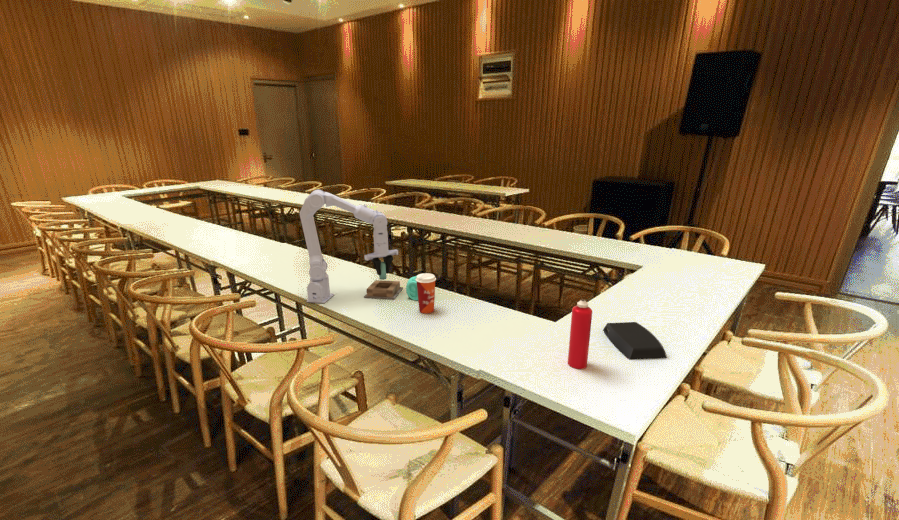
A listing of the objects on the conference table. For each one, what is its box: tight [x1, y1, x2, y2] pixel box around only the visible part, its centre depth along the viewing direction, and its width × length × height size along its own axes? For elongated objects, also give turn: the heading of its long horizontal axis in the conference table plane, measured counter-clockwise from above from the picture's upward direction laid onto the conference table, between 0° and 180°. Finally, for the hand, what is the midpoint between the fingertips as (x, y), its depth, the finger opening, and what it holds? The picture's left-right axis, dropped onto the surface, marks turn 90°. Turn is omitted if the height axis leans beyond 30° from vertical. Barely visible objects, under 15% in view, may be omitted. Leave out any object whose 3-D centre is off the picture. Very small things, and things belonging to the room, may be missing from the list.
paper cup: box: [416, 272, 437, 314], centre depth 158 cm, size 8×8×14 cm
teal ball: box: [405, 275, 418, 302], centre depth 172 cm, size 8×8×8 cm
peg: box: [378, 261, 388, 281], centre depth 175 cm, size 3×3×7 cm
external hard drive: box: [602, 321, 668, 361], centre depth 133 cm, size 13×19×4 cm
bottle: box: [567, 299, 593, 370], centre depth 119 cm, size 5×5×20 cm
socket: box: [363, 279, 404, 301], centre depth 177 cm, size 13×13×4 cm
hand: (382, 273), depth 175 cm, fingers closed on peg, 3 cm apart
